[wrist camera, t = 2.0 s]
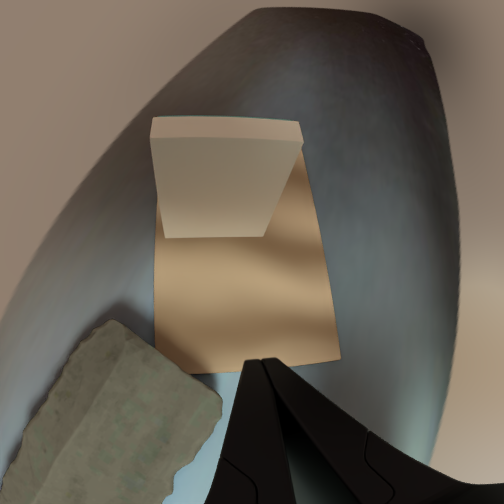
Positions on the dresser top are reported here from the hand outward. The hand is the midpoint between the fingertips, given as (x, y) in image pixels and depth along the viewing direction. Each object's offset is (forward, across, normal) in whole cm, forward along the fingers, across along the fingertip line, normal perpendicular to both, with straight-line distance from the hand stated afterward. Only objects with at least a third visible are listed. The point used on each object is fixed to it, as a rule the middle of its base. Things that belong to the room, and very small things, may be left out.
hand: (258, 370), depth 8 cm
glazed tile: (+16, 0, +1) cm, 16 cm away
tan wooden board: (+15, -2, +2) cm, 16 cm away
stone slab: (+4, +10, +14) cm, 17 cm away
